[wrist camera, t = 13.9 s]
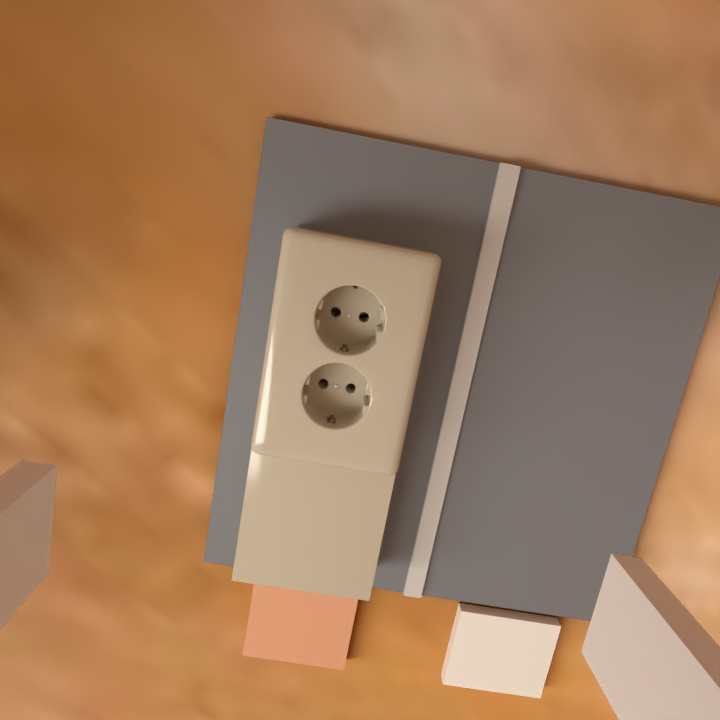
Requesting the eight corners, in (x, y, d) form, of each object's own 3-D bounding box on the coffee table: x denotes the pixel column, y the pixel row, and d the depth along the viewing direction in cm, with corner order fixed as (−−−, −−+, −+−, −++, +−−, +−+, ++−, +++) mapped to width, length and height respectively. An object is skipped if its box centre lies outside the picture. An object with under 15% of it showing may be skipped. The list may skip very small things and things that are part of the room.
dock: (194, 638, 36) (190, 649, 35) (268, 118, 30) (265, 115, 29) (583, 695, 37) (588, 706, 36) (733, 210, 31) (744, 210, 30)
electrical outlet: (228, 591, 30) (283, 225, 26) (241, 548, 34) (291, 225, 30) (370, 612, 30) (444, 255, 27) (367, 567, 34) (431, 251, 31)
